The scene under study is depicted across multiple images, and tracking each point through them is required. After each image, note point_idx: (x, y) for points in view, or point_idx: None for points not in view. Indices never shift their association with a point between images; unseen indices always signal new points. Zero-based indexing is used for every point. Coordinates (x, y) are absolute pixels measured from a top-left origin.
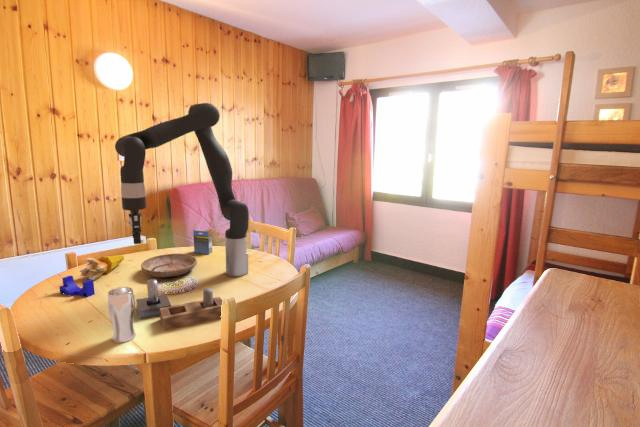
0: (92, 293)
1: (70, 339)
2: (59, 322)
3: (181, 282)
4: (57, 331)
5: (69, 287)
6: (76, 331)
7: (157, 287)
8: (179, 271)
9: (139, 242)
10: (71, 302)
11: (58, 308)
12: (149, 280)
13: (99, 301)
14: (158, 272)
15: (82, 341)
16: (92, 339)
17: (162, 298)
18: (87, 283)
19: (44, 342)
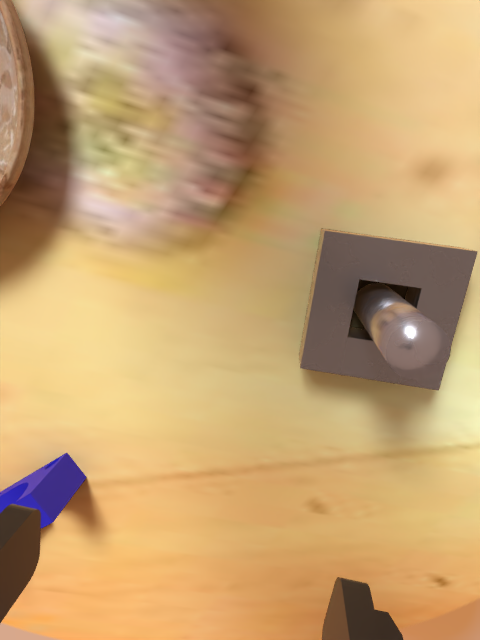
0: (69, 464)
1: (417, 572)
2: (263, 576)
3: (108, 81)
4: (330, 589)
5: None
6: (369, 551)
7: (419, 311)
8: (27, 58)
9: (367, 603)
10: (109, 525)
11: (142, 562)
12: (401, 362)
13: (151, 452)
14: (7, 186)
15: (458, 551)
16: (467, 528)
17: (366, 264)
18: (52, 512)
19: None
